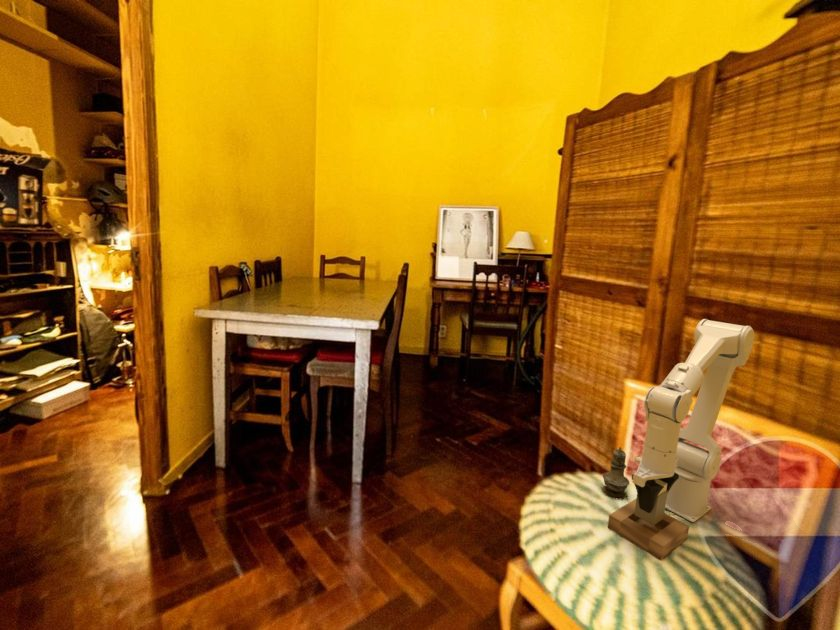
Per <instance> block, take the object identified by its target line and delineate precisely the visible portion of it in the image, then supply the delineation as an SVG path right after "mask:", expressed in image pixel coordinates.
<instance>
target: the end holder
mask: <svg viewBox="0 0 840 630" xmlns="http://www.w3.org/2000/svg"><path fill="white" fill-rule="evenodd" d="M636 499H637V497H636V498H634V499H633V500H631V501H630V502H628V503H626V504H625V505H623V506H621V507H620V508H619V509H616V510H615V511H612V513H609V515H608V524H607V528H608V529H610V530H611V531H613V532H614V533H616V534H618V535H619V536H621V537H623V538H624V539H625V540H627V541H629V542H631V543H632V544H633V545H635V546H637V547H639V549H641V550H643V551H645V552H646V553H648V554H650V555H651V556H653V557H655V558H656V559H658V560H660V561H662V560H663V559H664V558H667V556H668V555H670V554H671V553H672V552H673V551H675V550H676V549H677V548H678V547H679V546H680V545H682V544H683V543H685V541H686V540H688V535H689V531H690V525H688V524H686V523H684V522H682V521H680V520H679V519H677V518H675V517H673V516H671V515H669V514H667V513H666V512H664V517H663V519H662V520H661V521H659V522H658V523H657V524H655V525H654V526H653V525H652V524H650V523H648V522H646V521H644V520H643V519H641V518H639V517H637V516H636V515H634V513H635V506H636Z"/></svg>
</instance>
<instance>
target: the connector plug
mask: <svg viewBox="0 0 840 630" xmlns="http://www.w3.org/2000/svg"><path fill="white" fill-rule="evenodd" d="M654 481H656V482H655V483H657V484H659V485H662V486H664V488H663V489H662V490H661V491H660V493H659V494H658V496H657V498H656V501H655V504H654V507H653V509H652V511H651V513H647V512H646V511H644V510H642V509H640V507H639V501H638V494H637V493H636V498H637V499H636V498H635V499H636V506H635V513H634V515H636V516H637V517H639V518H641V519H643V520H644V521H646V522H648V523H650V524H652V525H653V526H654V525H655V524H657V523H658V522H659V521H661V520H662V519H663V517H664V513H665V510H666V508H665V505H666V499H667V493H668V491H667V483H665V482H663V481H661V480H659V479H654Z"/></svg>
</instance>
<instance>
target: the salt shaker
mask: <svg viewBox="0 0 840 630" xmlns="http://www.w3.org/2000/svg"><path fill="white" fill-rule="evenodd" d="M622 449H623V448H622V447H621V446H620V447H618V449H614V450H613V452H612V459H611V460H610V462H609V464H610V469H609V470H610V471H609V472H604V473H603V475H602V478H603V482H604V485H605V486H603V487H602V492H603V493H604V495H607V496H608V497H610V498H612V499H616V498H617V499H618V500H621V499H620V498H623V499H625V498H626V497H627V493H626V492H625V490H626V489H627V488H628V486H629V485H630V480H629V479H628V478H627V477H626V476H625V470H626V469H627V465H626V464H625V463H626V458H627V454H626V452H625V451H624V450H622ZM617 499H616V500H617Z"/></svg>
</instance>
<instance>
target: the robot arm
mask: <svg viewBox="0 0 840 630" xmlns="http://www.w3.org/2000/svg"><path fill="white" fill-rule="evenodd" d="M693 337H694V345H693V348H692V350H691V351H690V353H689V354H688V357H687V358H686V360H685V362H679V363H677V364H675V365H674V367H673V368H672V369H671V371H670V372H669V373H668V375H667V376H666V377H665V378H664V380H663V381H662V382H661V383H660V384H659V385H656V386H652V387H650V389H648V391H647V393H646V394H645V396H646V397H645V399H644V403H643V408H644V411H645V415H644V419H645V421H646V422H647V424H646V430H645V436H644V443H643V449H642V456H638V457H636V459H635V462H636V463H638V467H637V470H636V471H635V472H634V473H632V476H631V481H632V483H633V484H634V486H635V487H634V488H635V489H636V492H637V493H636V495H637V494H638V501H639V507H640V509H642V510H644V511H646V512H647V513H651V511H652V509H653V507H654V504H655V501H656V498H657V496H658V494H659V493H660V491H661V490H662V489H663V488H664V486H662V485H659V484H657V483H655V482H656V481H654V479H659V480H661V481H663V482H665V483H667V491H668V493H667V499H666V505H665V510H668V511H670V512H672V513H673V514H675V515H677V516H678V517H679V516H680V517H681V518H684V519H685V520H686V521H690V522H691V523H695V522H696V521H697V520H699V519H700V518H702V517H703V516H704V515H705V514H706V513H708V512H709V511H710V510H712V507H711V506H710V505H708V500H709V494H710V489H711V483H712V482H711V481H712V480H713V479H714V478H715V477H716V475H717V474H718V472H719V469H720V465H721V457H722V447H720V445H719V444H718V443H717V441H716V440H715V439H714V438H713V436H712V434H713V432H714V429H715V426H716V422H717V420H718V417H719V414H720V411H721V409H722V405H723V402H724V400H725V397H726V393H727V391H728V388H729V385H730V382H731V379H732V376H733V374H734V372H735V370H736V368H738V367H741V366H745V365H746V364H747V361H748V360H749V357H750V355H751V351H752V348H753V346H754V342H755V331H754V329H753V327H752V326H751V325H742V324H741V325H740V324H734V323H727V322H722V321H717V320H709V319H708V318H703V319H701V320H700V321H699V322H698V323H697V325H696V327H695V330H694V334H693ZM704 371H705V374H704ZM698 390H699V391H698ZM697 391H698V394H697V395H696V396H697V397H696V400H695V403H694V406H693V408H692V411H691V414H690V417H689V420H688V423H687V425H686V427H684V428H681V427H682V426H681V425H682V422H684V420H685V419H686V418H687V416H688V414H689V411H690V408H691V406H692V404H693V401H694V400H693V397H694V395H695V394H696V393H697ZM686 441H687V442H686ZM689 442H690V443H689ZM692 443H693V444H692ZM697 445H698V446H697ZM700 446H701V447H700ZM702 447H704V448H706V449H704V448H702Z"/></svg>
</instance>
